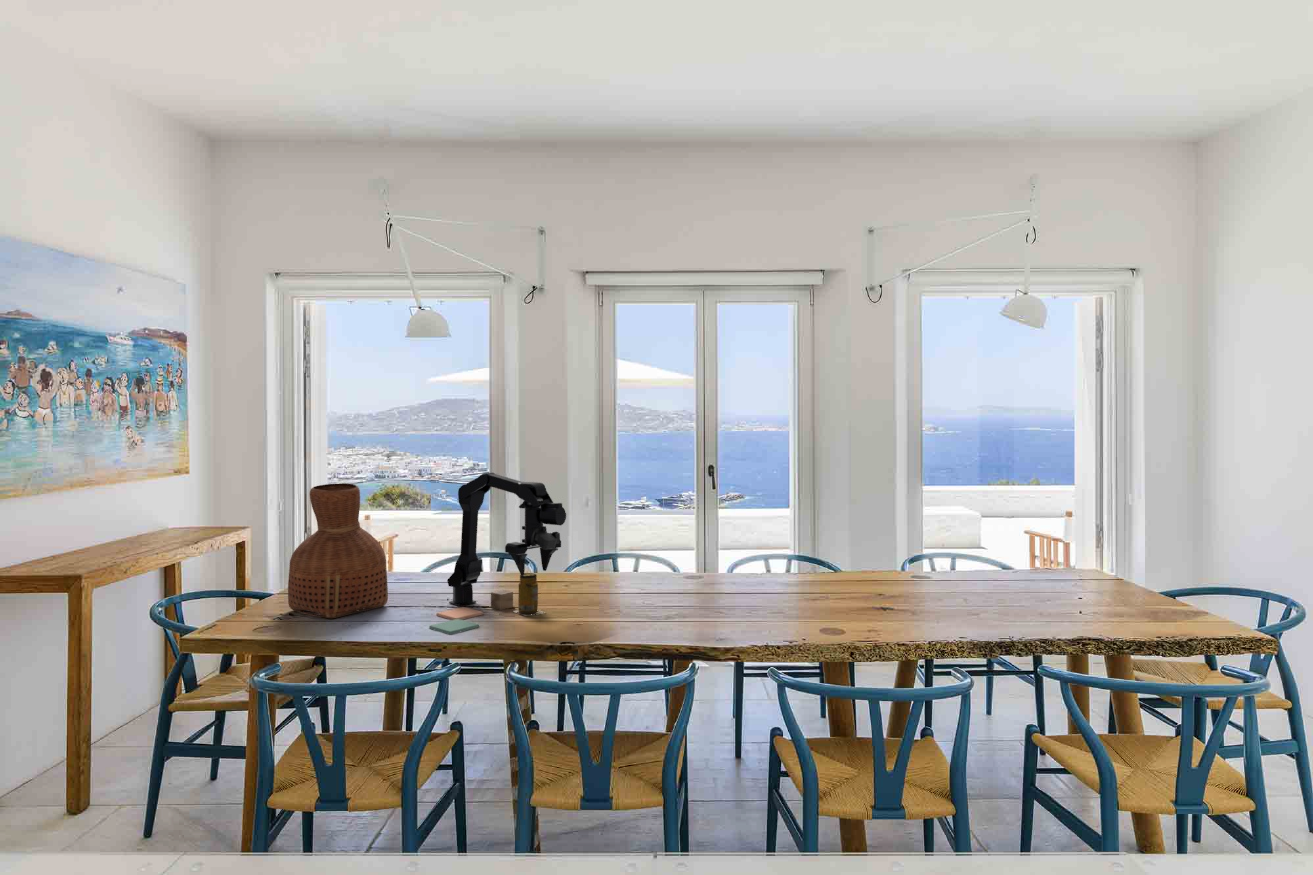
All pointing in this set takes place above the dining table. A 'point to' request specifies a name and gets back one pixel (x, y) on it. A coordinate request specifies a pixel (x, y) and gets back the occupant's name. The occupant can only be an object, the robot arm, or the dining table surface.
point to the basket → (337, 559)
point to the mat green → (454, 626)
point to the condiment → (528, 595)
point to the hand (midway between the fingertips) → (533, 572)
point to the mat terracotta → (459, 613)
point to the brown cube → (501, 599)
